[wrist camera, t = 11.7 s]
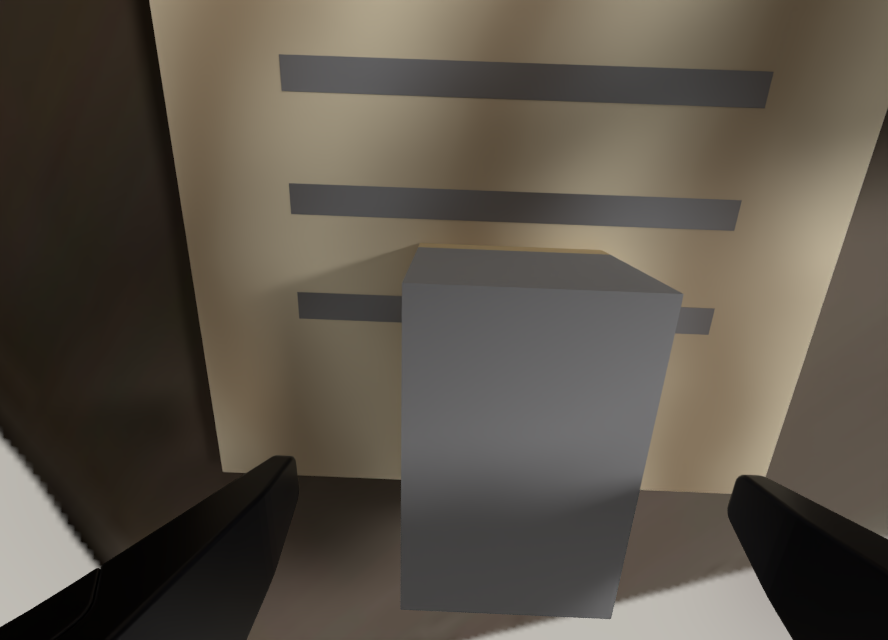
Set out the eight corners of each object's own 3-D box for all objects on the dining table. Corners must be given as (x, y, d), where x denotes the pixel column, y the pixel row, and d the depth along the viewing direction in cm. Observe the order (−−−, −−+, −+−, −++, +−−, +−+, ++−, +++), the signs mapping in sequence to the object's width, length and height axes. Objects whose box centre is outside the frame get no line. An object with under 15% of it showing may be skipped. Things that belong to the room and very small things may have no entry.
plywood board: (1021, -463, 9) (1111, -563, 7) (737, 471, 16) (759, 495, 14) (109, -487, 9) (57, -588, 7) (239, 450, 16) (222, 472, 15)
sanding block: (601, 249, 12) (684, 294, 8) (565, 487, 15) (610, 618, 10) (420, 242, 12) (402, 282, 8) (415, 481, 15) (400, 609, 10)
